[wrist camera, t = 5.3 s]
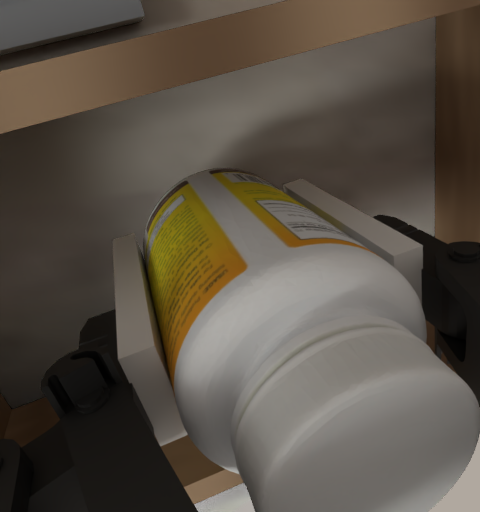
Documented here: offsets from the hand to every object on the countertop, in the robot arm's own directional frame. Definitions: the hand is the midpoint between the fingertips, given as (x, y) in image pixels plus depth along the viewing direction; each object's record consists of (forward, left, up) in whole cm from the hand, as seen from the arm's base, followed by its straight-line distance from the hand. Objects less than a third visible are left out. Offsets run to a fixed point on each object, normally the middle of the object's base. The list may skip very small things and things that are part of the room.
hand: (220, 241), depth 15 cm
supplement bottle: (0, 0, -1) cm, 1 cm away
